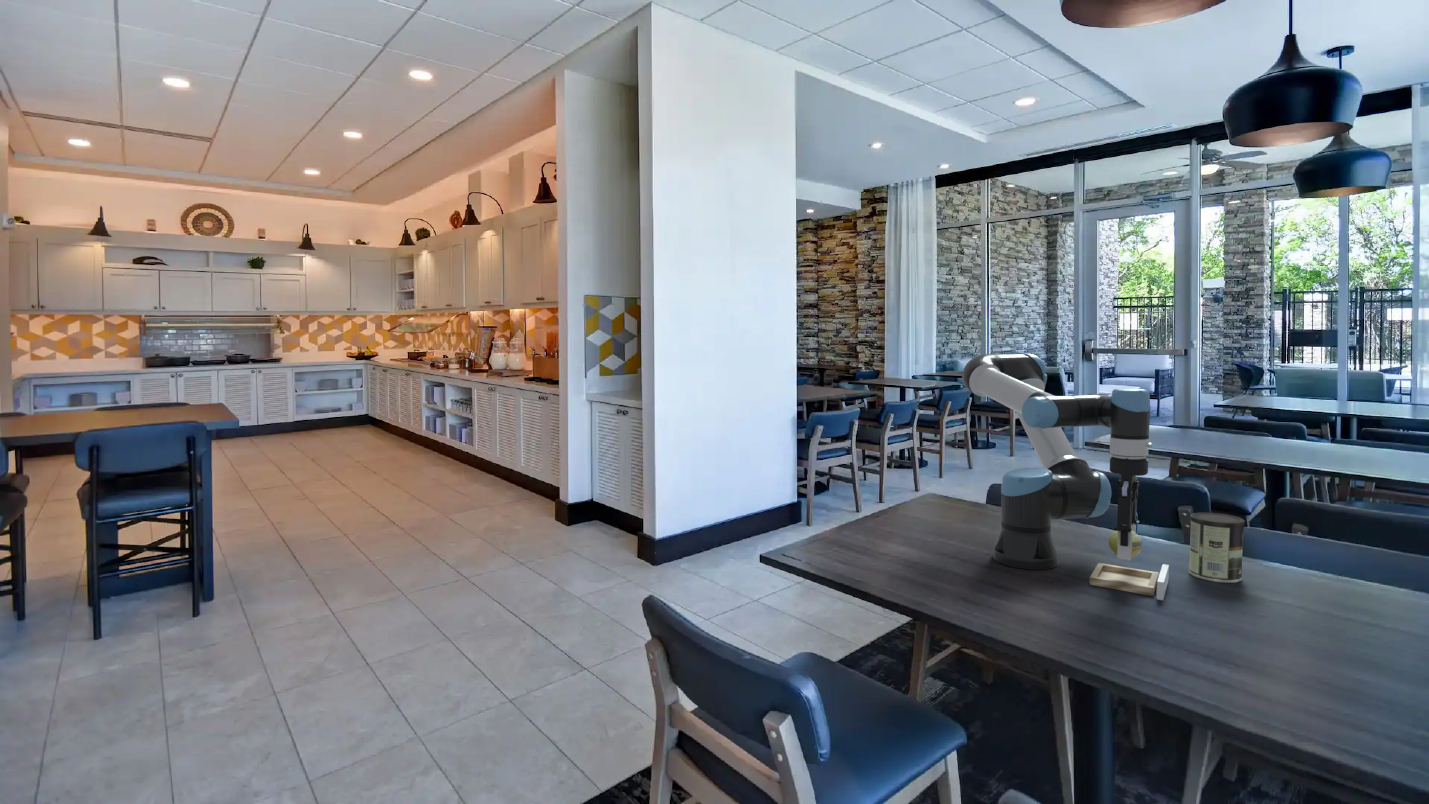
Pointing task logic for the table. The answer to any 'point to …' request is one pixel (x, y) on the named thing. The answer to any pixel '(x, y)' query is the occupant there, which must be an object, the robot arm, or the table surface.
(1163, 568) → the panel
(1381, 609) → the table surface
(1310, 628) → the table surface
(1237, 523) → the coffee can
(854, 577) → the table surface
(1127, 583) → the tray
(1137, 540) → the tennis ball
